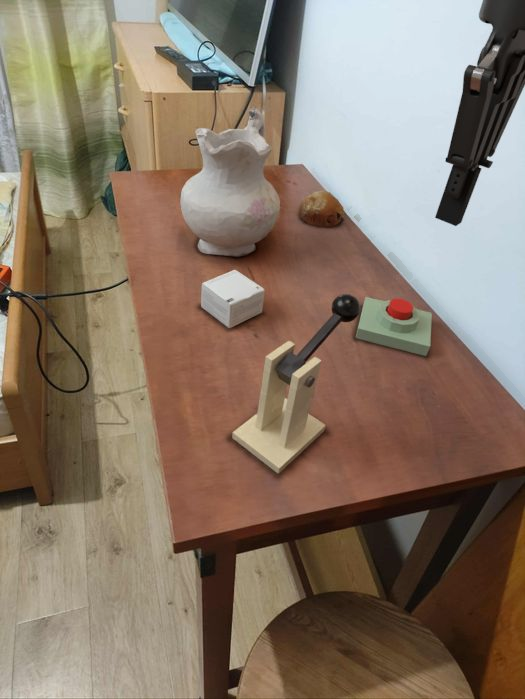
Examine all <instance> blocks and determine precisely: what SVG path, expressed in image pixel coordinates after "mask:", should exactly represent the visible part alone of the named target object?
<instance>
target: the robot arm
mask: <svg viewBox="0 0 525 699" xmlns="http://www.w3.org/2000/svg"><path fill="white" fill-rule="evenodd" d="M478 18H479V20H480V21H481V22H482V23H485V24H488V25H491V26H492V29H491V32H490V33H489V36H488V39H487V40H486V43H485V45H484V46H483V47H482V49H481V50H480V53H479V56H478V59H477V62H476V65H474V64H468V65H467V66H466V68H465V70H464V72H463V79H462V92H461V96H460V101H459V105H458V110H457V113H456V117H455V122H454V127H453V129H452V130H453V131H452V134H451V139H450V143H449V148H448V152H447V155H446V157H445V163H448V164H450V165H452V166H451V169H450V172H449V175H448V177H447V181H446V184H445V187H444V190H443V193H442V196H441V198H440V202H439V204H438V208H437V211H436V214H435V215H434V216H435V217H434V218H435V219H437V220H440V221H442V222H445V223H447V224H450V225H452V226H454V227H456V226H459V225H460V224H462V222H463V220H464V219H463V218H464V216H465V214H466V211H467V208H468V206H469V203H470V200H471V198H472V195H473V192H474V190H475V187H476V184H477V182H478V180H479V176H480V174H481V171H482V167H483V168H486V169H490V168H491V167H492V165H493V163H494V161H492V160H490V159H488V158H491V157H493V156H494V155H495V153H496V149H497V147H498V145H499V143H500V141H501V138H502V136H503V134H504V132H505V129H506V127H507V125H508V123H509V121H510V118H511V116H512V114H513V112H514V110H515V109H516V105H517V103H518V101H519V99H520V97H521V94H522V92H523V90H524V89H525V0H482V2H481V6H480V9H479V13H478Z"/></svg>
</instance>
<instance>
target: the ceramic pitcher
mask: <svg viewBox="0 0 525 699" xmlns="http://www.w3.org/2000/svg"><path fill="white" fill-rule="evenodd" d="M248 115H249V119H248V121H247V126H245V127H244V128H228V129H226V130H223V131H221V132H220V133H216V132H215V131H213V130H212V129H210V128H208V127H200V128H199V127H197V126H196V127H195V128H196V130H195V131H194V133H195V137H196V140H197V143H198V146H199V151H200V153H201V156H202V165H203V166H202V169H201V170H200V171H199V172H198V173H196V174H194V175H192V176H191V177H190V178H189V179H188V180H186V182H185V184H184V185H183V187H182V189H181V193H180V199H179V200H180V201H179V204H180V209H181V214H182V217H183V219H184V221H185V223H186V225H187V227H188V228H189V229H190V231H191V232H192V233H193V234H194V235H195V236H196V237H197V238H198V239H199V240H198V243H197V248H198V250H199V252H200V253H203V254H205V255H217V256H227V257H243V256H247V255H249V254H250V253H253V252H255V251H256V243H258V242H260V241H261V240H263V239H264V238H265V237H267V235H269V233H270V232H271V231H272V230H273V228H274V226H275V224H276V223H277V220H278V218H279V215H280V211H281V199H280V196H279V194H278V192H277V190H276V189H275V187H274V186H273V184H272V183H271V182H269V181H268V180H267V179H266V178H265V175H264V168H265V165H266V162H267V159H268V158H269V156H270V154H271V152H272V145H270V144H269V143H268V141H267V140H266V138H265V134H266V125H265V119H264V116H263V115H262V109H260V108H257V106H255V107H252V108H250V110H249V111H248Z"/></svg>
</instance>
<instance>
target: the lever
mask: <svg viewBox="0 0 525 699" xmlns="http://www.w3.org/2000/svg"><path fill="white" fill-rule="evenodd" d="M331 313H332V315H331V316H330V317H329V318H328V319H327V320H326V322H325V323H324V324H323V325H322V326H321V327H320V328H319V329H318V331H317V332H316V333H315V334H314V336H312V338H310V339H309V341H308V342H307V343H306V344H305V345H304V346H303V347H302V349H301V350H300V351H299V352H298V353H297V354H295V353H292V352H290V353H289V354H288V356H287V357H286V358H285V359H284V360H283V361H282V362H281V363H280V365H279V366H278V367H277V368H276V370H277V374H278V378H279V379H281V380H282V381H284V382H285V383H287V386H290V383H291V378H292V374H293V373H294V372H295V371H297V370H298V369H299V368H301V367H302V366H303V365H305V364H306V363H307V362H308V361H309V359H310V358H311V357H312V356H313V354H314V353H315V352H316V351H317V350H318V349H319V348H320V346H321V345H322V344H323V343H324V342H325V341H326V340H327V338H329V336H330V335H331V334H332V333H333V332H334V331H335V330H336V328H337V327H338V326H339V325H340V323H350V322H353V321H355V320H356V319H357V318H358V317H359V315H360V313H361V303H360V301H359V299H358V298H357V297H356V296H355V295H353V294H350V293H342V294H339V295H338V296H336V297H335V298H334V299H333V301H332V304H331Z"/></svg>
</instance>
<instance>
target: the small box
mask: <svg viewBox="0 0 525 699" xmlns="http://www.w3.org/2000/svg"><path fill="white" fill-rule="evenodd" d="M265 292H266V289H265V288H263V287H262V286H261V285H259V284H258V283H256V282H254V281H253V280H252V279H250V278H248V277H247V276H246V275H245V274H242V273H241V272H239V271H238V270H237V269H233V270H230V271H229V272H226V273H224V274H221V275H219V276H216V277H214V278H211V279H208V280H206V281H204V282H201V293H200V294H201V296H200V302H201V303H200V307H201V308H202V309H203V310H205V311H206V312H207V313H208V314H210V315H211V316H212V317H214V319H216V320H217V321H219V322H220V323H221V324H223V325H224V326H225V327H226V328H228V329H231V328H233V327H235V326H237V325H239V324H241V323H243V322H246V321H248V320H250V319H252V318H253V317H256V316H258V315H259V314H263V309H264V301H265V300H264V299H265Z"/></svg>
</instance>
